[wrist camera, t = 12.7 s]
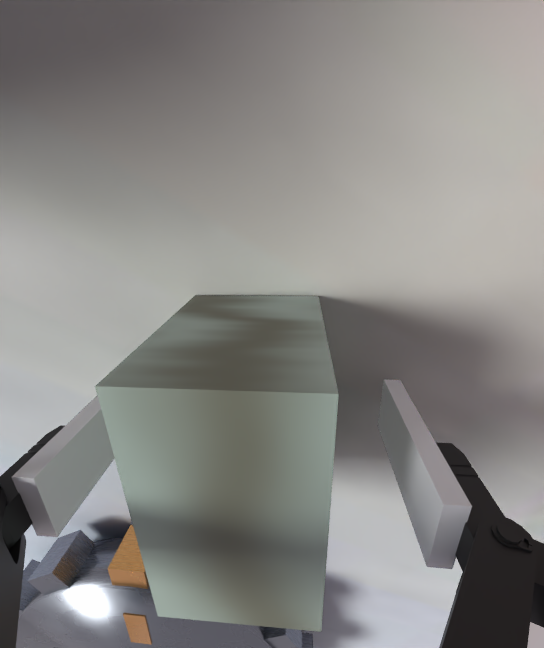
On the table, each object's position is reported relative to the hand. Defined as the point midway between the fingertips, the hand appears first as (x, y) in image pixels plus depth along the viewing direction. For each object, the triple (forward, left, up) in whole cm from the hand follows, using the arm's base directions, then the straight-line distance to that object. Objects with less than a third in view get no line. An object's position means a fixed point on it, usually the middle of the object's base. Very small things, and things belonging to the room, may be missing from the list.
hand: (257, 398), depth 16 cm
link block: (0, 0, -1) cm, 1 cm away
